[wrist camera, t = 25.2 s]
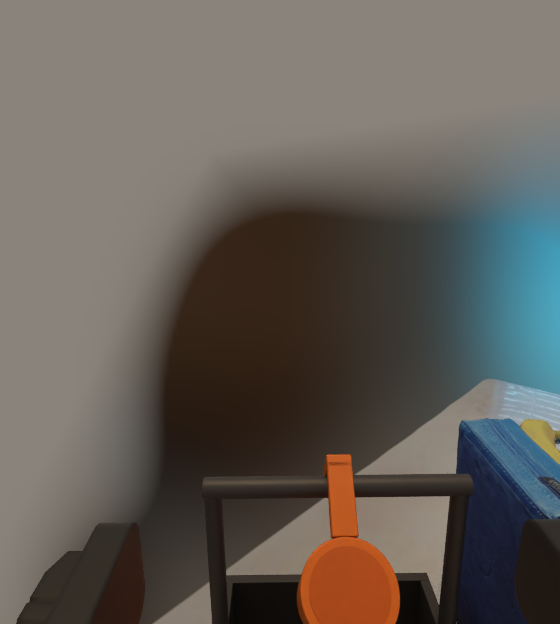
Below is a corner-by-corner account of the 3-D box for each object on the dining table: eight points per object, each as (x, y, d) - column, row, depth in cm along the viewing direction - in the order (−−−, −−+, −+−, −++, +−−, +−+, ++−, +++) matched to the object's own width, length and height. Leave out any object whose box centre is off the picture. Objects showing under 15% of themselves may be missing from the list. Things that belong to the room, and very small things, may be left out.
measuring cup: (379, 646, 32) (408, 652, 24) (297, 647, 32) (302, 654, 24) (362, 487, 38) (381, 453, 30) (293, 488, 38) (296, 454, 30)
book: (592, 773, 31) (650, 523, 26) (515, 778, 31) (558, 527, 26) (490, 593, 45) (515, 406, 40) (437, 595, 45) (454, 408, 40)
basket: (205, 791, 31) (186, 543, 25) (225, 629, 42) (214, 434, 37) (477, 787, 31) (513, 539, 25) (424, 626, 42) (441, 431, 37)
